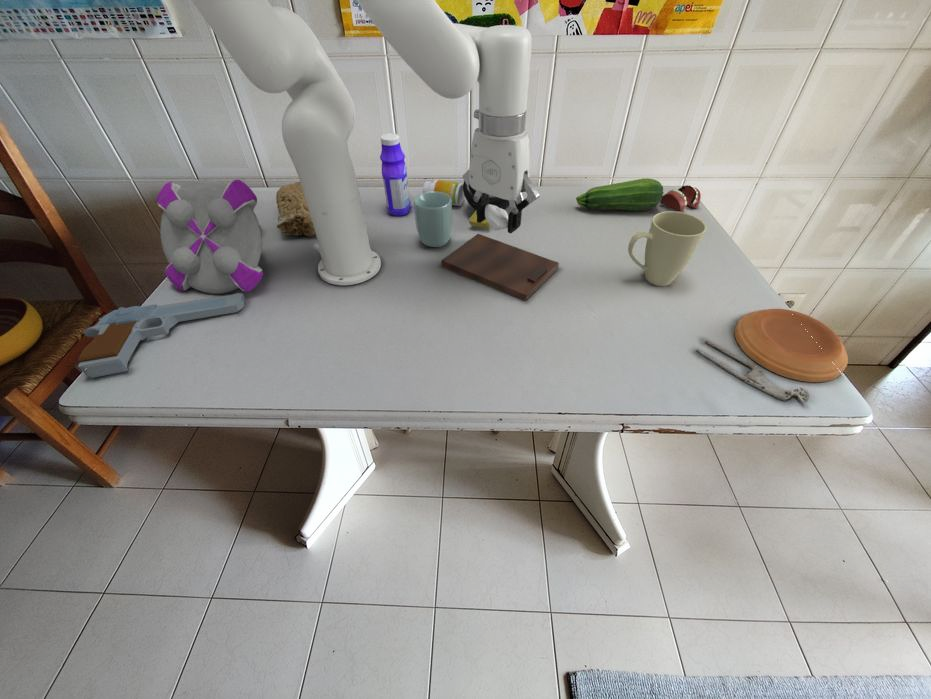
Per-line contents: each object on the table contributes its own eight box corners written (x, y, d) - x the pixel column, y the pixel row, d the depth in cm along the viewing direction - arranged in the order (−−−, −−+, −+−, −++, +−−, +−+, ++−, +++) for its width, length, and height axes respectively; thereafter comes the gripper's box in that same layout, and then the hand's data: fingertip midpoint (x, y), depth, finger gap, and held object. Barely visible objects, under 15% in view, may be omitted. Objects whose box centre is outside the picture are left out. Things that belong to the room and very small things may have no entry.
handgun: (71, 383, 65) (99, 323, 75) (242, 351, 71) (246, 299, 81) (57, 368, 63) (87, 308, 73) (235, 336, 69) (240, 284, 79)
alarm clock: (456, 229, 105) (444, 164, 99) (507, 218, 109) (499, 155, 104) (476, 230, 94) (464, 158, 89) (531, 217, 99) (523, 148, 94)
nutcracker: (693, 349, 69) (710, 335, 71) (692, 352, 69) (709, 338, 71) (799, 410, 60) (815, 392, 61) (796, 414, 60) (812, 395, 62)
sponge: (328, 241, 97) (336, 187, 108) (311, 214, 90) (322, 159, 101) (275, 252, 98) (288, 197, 109) (255, 226, 92) (271, 171, 103)
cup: (448, 253, 91) (446, 209, 84) (413, 250, 92) (408, 206, 85) (456, 235, 96) (455, 192, 89) (423, 232, 97) (419, 189, 90)
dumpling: (480, 221, 83) (483, 200, 81) (505, 224, 84) (509, 204, 82) (485, 233, 77) (489, 211, 75) (512, 236, 78) (517, 215, 76)
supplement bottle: (461, 179, 102) (425, 174, 104) (456, 200, 102) (419, 194, 104) (467, 189, 107) (432, 184, 110) (461, 209, 107) (426, 204, 109)
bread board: (441, 266, 87) (441, 257, 86) (478, 239, 95) (478, 231, 93) (525, 301, 79) (526, 292, 77) (558, 269, 86) (559, 260, 85)
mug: (644, 259, 88) (662, 204, 80) (690, 278, 83) (715, 222, 75) (616, 281, 83) (632, 225, 75) (663, 303, 78) (686, 246, 69)
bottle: (409, 217, 102) (400, 141, 90) (386, 217, 102) (374, 141, 90) (412, 203, 107) (404, 130, 95) (390, 203, 107) (379, 130, 95)
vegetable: (669, 177, 96) (581, 177, 97) (665, 210, 99) (578, 210, 99) (657, 179, 103) (574, 180, 104) (653, 210, 105) (572, 210, 106)
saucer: (725, 302, 73) (718, 315, 76) (771, 369, 62) (761, 383, 64) (818, 301, 73) (808, 314, 75) (881, 369, 62) (868, 382, 64)
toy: (183, 130, 73) (242, 154, 87) (111, 237, 78) (178, 243, 93) (284, 233, 73) (326, 240, 88) (205, 332, 79) (257, 323, 93)
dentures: (663, 185, 101) (687, 179, 105) (655, 203, 104) (678, 197, 108) (684, 196, 98) (708, 190, 101) (675, 215, 101) (699, 208, 105)
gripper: (445, 119, 69) (450, 220, 82) (537, 140, 62) (527, 247, 75) (472, 107, 74) (472, 205, 86) (561, 126, 66) (547, 229, 79)
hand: (497, 224), depth 80 cm, fingers closed on dumpling, 6 cm apart
